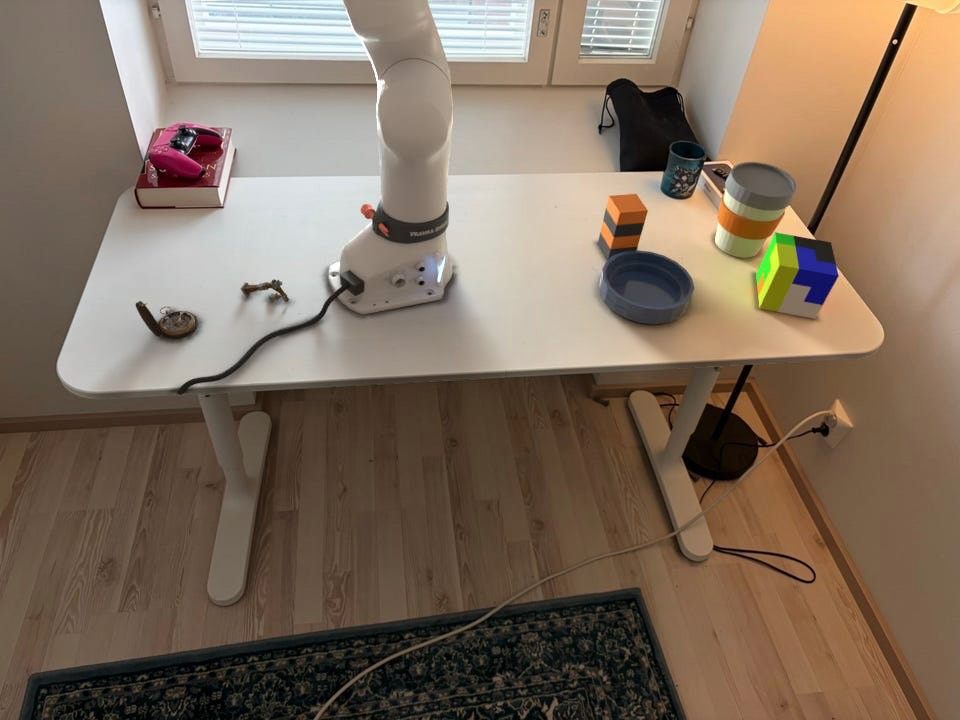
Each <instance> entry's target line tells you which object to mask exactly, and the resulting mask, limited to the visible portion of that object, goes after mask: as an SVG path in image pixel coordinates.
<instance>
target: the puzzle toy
mask: <svg viewBox="0 0 960 720" xmlns="http://www.w3.org/2000/svg"><path fill="white" fill-rule="evenodd" d="M838 271H839V270H838V267H837V263H836V257H835V253H834V249H833V244H832V242H831V241H827V240H826V241H825V240H820V239H815V238H808V237H803V236H798V235H792V234H787V233H783V232H782V233H781V232H776V231H774V233H773V236H772V238H771V240H770V243H769V245H768V247H767V249H766V252H765V253H764V256H763V258H762V260H761V263H760V265H759V267H758V269H757V272H756V274H755V279H756V289H757V290H756V291H757V299H758V308H759V310H760V309H761V310H766V311H771V312H775V313H781V314H788V315H792V316H797V317H804V318H809V319H814V320H815V319H816V318H817V316H818V315H819V313H820V311H821V309H822V307H823V305H824V304H825V302H826V300H827V298H828V296H829V294H830V293H831V291H832V289H833V288H834V285H835V284H836V282H837V280H838V278H839V272H838Z"/></svg>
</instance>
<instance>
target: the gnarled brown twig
mask: <svg viewBox="0 0 960 720" xmlns="http://www.w3.org/2000/svg"><path fill="white" fill-rule="evenodd" d="M281 286H283V282H282V281H281V280H279V279H271V281H269V282H267V281H265V282H261V283H260V282H259V284H249V283H248V282H244V283H243V285H242V286H241V287H240V289H239V290H241V292H242V294H243V296H244V297H248V296H249V295H250V294H251V293H254V292H258V291H259V292H262V291H268V290H270V289H272V290H273V291H274V292H275V293H271V294H270V295H269V296H268V299H269V300H271V302H274V301H276V302H278V301H279V300H280V299H282V300H283V301H284V302H285V303H287V302H289V301H290V298H289V296H288V294H287V293H286V292H285V291H284V290H283V288H282V287H281Z"/></svg>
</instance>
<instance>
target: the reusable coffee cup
mask: <svg viewBox="0 0 960 720" xmlns="http://www.w3.org/2000/svg"><path fill="white" fill-rule="evenodd" d="M724 187H725V190H724V192H723V194H722V195H721V199H720V204H719V208H718V213H717V222H718V224H717V227H716V233H715V236H714V242H715V245H716V246H717V248H719V250H721V251H722V252H724V253H726V254H728V255H729V256H732V257H735V258H743V259H744V258H745V259H748V258H753V257H755V256H756V255H758V254H759V253H760V251H761V249H762V247H763V246H764V244H765V243H766V241H767V240H768V238H770V237H771V236H772V235H774V233H775V232H776V229H777V227H778V226H779V225H780V223H781V221H782V219H783V218H784V216H785V212H786V209H787V208H788V207H789V206H790V205H791V204H792V202H793V199H794V196H795V193H796V189H797V183H796V181H795V179H794V178H793V176H792V175H790V174H789V173H788V172H787V171H785V170H783V169H781V168H779V167H778V166H774V165H772V164H768V163H764V162H759V161H745V162H740V163H738V164H736V165H734V166H733V168H732V169H731V170H730V171H729V174H728V176H727V178H726V180H725V183H724Z"/></svg>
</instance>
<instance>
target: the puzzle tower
mask: <svg viewBox="0 0 960 720" xmlns="http://www.w3.org/2000/svg"><path fill="white" fill-rule="evenodd" d="M648 212H649V209H648V208H647V207H646V206H645V204H644V203H643V201H642V199H641V198H640V197H639V194H637V193H629V194H628V193H626V194H615V195H608V197H607V202H606V206H605V211H604V215H603V219H602V223H601V229H600V232H599V235H598V240H597V245H598V247H599V248H600V250H601V252H602V253H603V255H604V257H605V258H606V261H607V260H608V259H610V258H611V257H612V256H614V255H616V254H619V253H622V252H625V251H635V250H638V248H639V244H640V240H641V237H642V233H643V231H644V230H643V229H644V226H645V222H646V219H647V216H648Z"/></svg>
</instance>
